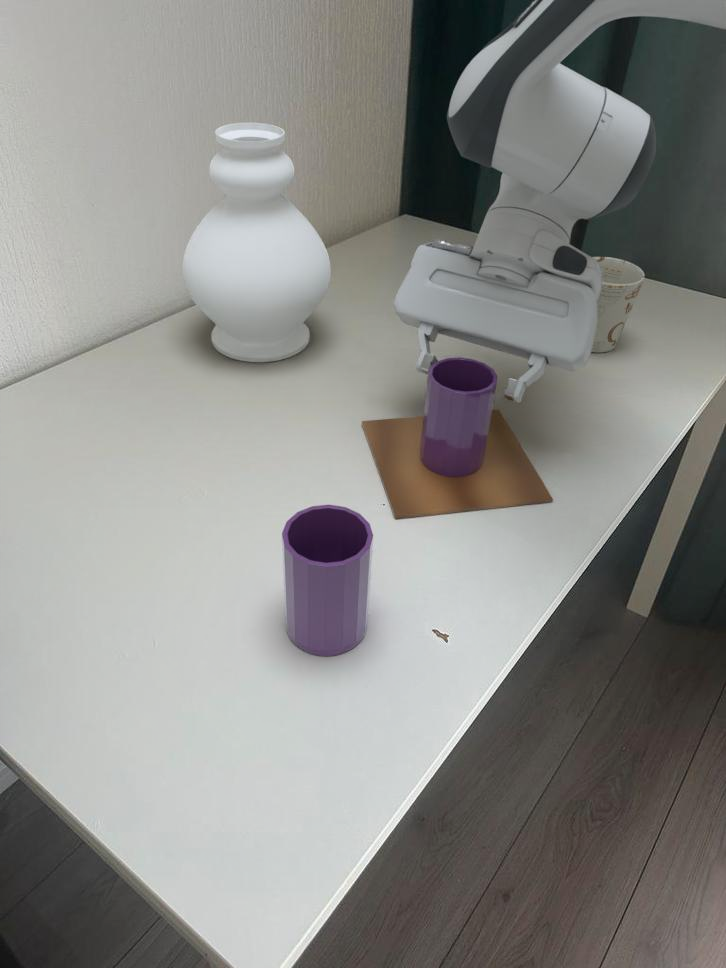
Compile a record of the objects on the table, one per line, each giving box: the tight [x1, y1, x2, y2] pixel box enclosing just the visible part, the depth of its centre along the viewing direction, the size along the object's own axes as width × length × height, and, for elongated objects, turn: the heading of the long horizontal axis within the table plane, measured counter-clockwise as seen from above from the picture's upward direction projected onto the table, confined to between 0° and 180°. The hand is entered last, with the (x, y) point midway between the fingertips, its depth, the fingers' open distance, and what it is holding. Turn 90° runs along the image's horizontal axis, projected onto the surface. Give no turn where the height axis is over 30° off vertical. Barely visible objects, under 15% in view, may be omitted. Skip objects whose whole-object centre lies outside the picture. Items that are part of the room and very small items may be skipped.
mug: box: [591, 256, 645, 353], centre depth 100 cm, size 8×13×10 cm, turn 41°
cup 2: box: [420, 356, 498, 477], centre depth 77 cm, size 7×7×10 cm
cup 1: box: [281, 504, 374, 657], centre depth 60 cm, size 7×7×10 cm
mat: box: [361, 409, 554, 520], centre depth 81 cm, size 16×16×1 cm
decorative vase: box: [182, 121, 332, 363], centre depth 92 cm, size 18×18×25 cm
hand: (466, 385), depth 77 cm, fingers open, 8 cm apart
